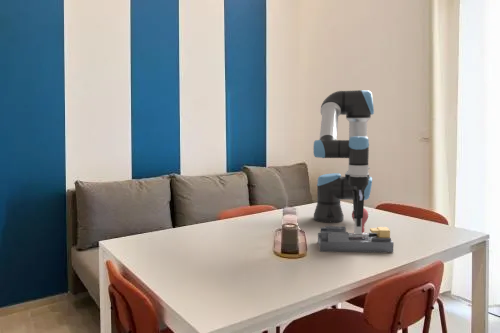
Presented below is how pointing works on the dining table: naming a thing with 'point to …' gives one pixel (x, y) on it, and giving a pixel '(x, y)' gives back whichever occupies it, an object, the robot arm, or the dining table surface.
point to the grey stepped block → (351, 241)
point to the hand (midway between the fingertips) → (357, 233)
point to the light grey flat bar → (358, 235)
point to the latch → (381, 232)
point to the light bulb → (364, 219)
